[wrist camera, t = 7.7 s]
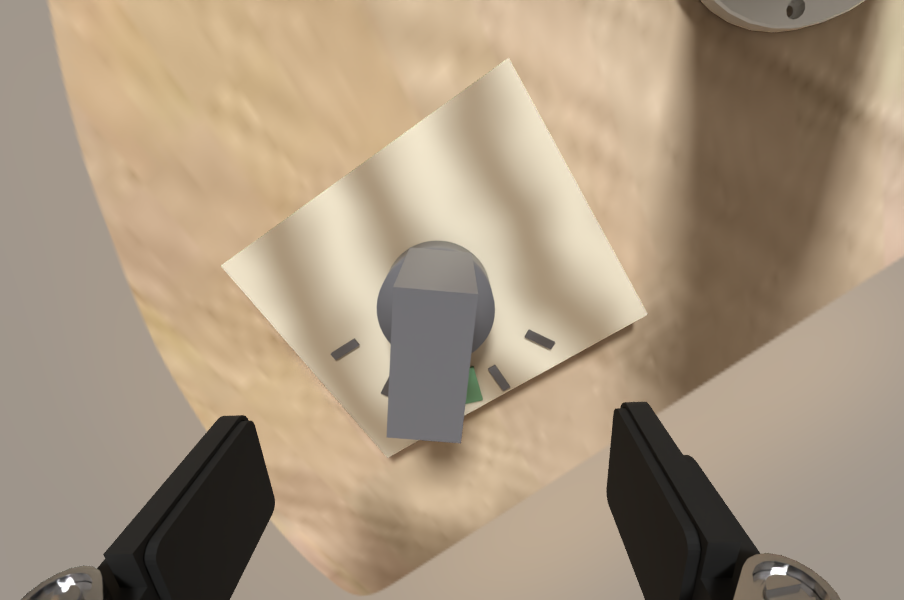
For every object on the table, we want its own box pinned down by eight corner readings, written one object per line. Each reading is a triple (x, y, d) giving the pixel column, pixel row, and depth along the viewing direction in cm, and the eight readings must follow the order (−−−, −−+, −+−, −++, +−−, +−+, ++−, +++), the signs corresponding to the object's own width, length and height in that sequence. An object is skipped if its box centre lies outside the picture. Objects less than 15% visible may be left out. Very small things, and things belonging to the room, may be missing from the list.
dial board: (504, 64, 23) (509, 56, 21) (634, 302, 27) (649, 315, 25) (237, 257, 27) (218, 266, 24) (391, 438, 31) (386, 459, 29)
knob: (387, 232, 24) (350, 283, 15) (497, 242, 24) (520, 297, 15) (380, 407, 28) (348, 525, 19) (475, 414, 28) (484, 535, 19)
